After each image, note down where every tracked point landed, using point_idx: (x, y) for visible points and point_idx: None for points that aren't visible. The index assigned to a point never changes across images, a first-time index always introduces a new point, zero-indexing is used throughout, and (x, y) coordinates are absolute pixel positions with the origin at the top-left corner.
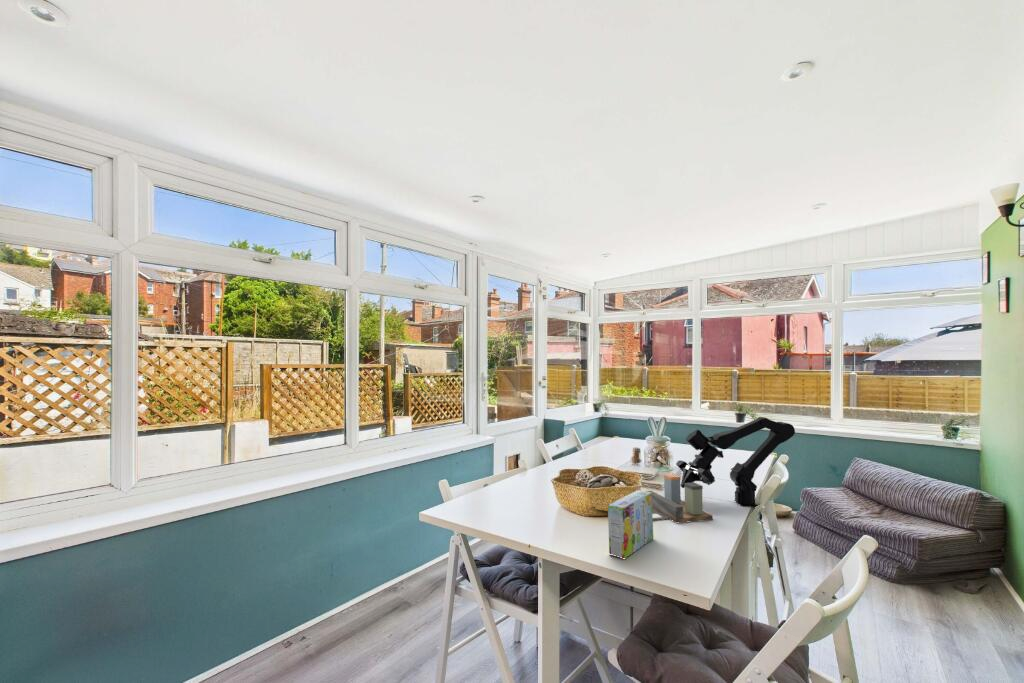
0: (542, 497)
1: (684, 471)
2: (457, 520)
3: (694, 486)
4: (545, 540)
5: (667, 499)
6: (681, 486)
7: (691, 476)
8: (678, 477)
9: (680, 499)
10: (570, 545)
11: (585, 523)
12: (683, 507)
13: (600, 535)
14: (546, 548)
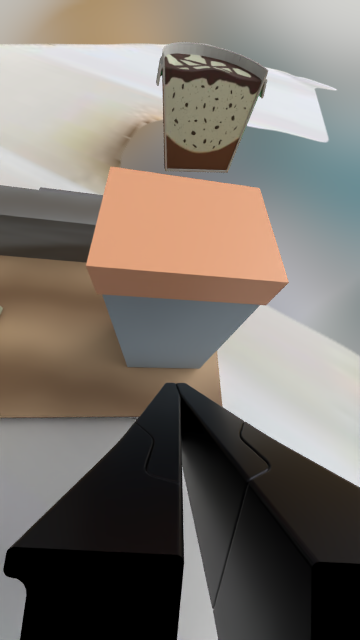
0: (286, 127)
1: (336, 518)
2: None
3: None
4: (54, 55)
5: (45, 214)
6: (169, 383)
7: (107, 621)
8: (92, 242)
9: (126, 361)
10: (11, 59)
11: (103, 106)
12: (64, 342)
13: (23, 93)
14: (22, 46)
